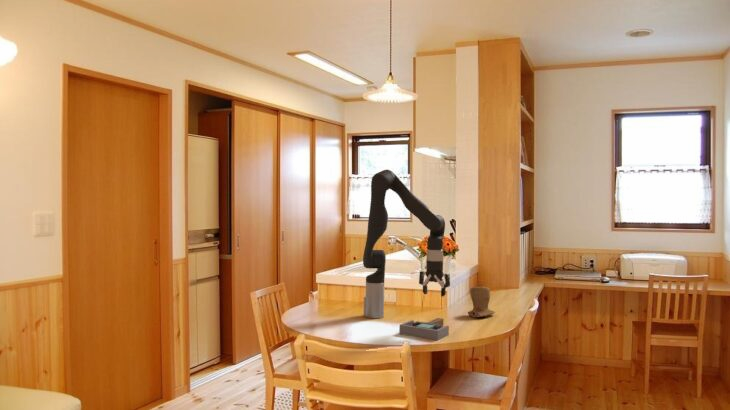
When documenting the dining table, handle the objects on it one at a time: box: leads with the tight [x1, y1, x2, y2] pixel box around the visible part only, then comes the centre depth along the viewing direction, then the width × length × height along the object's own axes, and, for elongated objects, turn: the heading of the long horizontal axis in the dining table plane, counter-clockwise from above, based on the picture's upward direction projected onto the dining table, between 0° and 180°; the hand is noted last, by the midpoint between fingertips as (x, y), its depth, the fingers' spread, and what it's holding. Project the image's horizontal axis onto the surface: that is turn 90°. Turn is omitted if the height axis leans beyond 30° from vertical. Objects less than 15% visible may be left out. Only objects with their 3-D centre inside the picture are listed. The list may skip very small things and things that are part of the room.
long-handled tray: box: [413, 317, 444, 330], centre depth 258 cm, size 12×16×4 cm
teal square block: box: [416, 324, 435, 330], centre depth 251 cm, size 6×6×4 cm
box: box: [398, 319, 450, 341], centre depth 251 cm, size 18×11×4 cm, turn 58°
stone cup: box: [467, 286, 496, 318], centre depth 291 cm, size 15×12×15 cm
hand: (434, 295), depth 258 cm, fingers open, 8 cm apart
